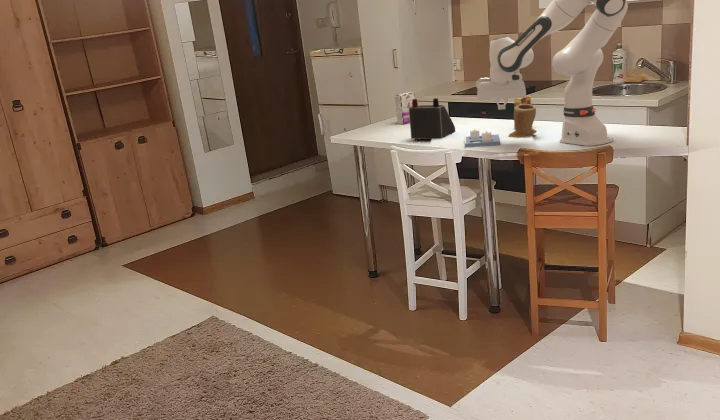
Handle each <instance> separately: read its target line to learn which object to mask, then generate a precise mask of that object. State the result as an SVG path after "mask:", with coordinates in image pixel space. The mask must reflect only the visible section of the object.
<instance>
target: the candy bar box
mask: <svg viewBox="0 0 720 420" xmlns="http://www.w3.org/2000/svg"><path fill="white" fill-rule="evenodd" d="M412 99H416V97H415V92H412V91H409V92H408V91H407V92H403V93H399V94H395V95H394V101H395V110H396V111H395V112H396V120H397V121H396V122H397V124H398V125H403V126H405V125H407V124H410V117H409V108H410V107H412Z"/></svg>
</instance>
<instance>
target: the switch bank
mask: <svg viewBox="0 0 720 420" xmlns="http://www.w3.org/2000/svg"><path fill="white" fill-rule="evenodd" d="M479 136H480V138H477V139H470V135H469V136H466V135H465V136H464V148H476V147H491V146H501V139H500V135H499V134H491V136H492V141H486V142H482V135H479Z"/></svg>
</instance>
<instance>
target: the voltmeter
mask: <svg viewBox="0 0 720 420" xmlns="http://www.w3.org/2000/svg"><path fill="white" fill-rule="evenodd" d="M432 101H433V102H432V105H430V104H427V105H419V103H418V99H417V98H415V99H412V107H410V108H409V117H410V123H409V126H410V127H409V129H410V139H412V140H413V139H414V141H415V142H419V141H420V139H423V140H424V139H425V140H426V139H427V140H429V139H430V140H432V139H434V140H436V139H438V140H439V139H441V140H442V139H444V138H447V137H448V136H450V135H451V136H452V135H453V134H455V133H456V126H455V124H454V122H453V120H452V118H451V116H450V114H449V112H448V109H447V108H446V106H445V105H444V104H443V105H442V104H440V103H439V98H438V97H437V98H433V99H432Z"/></svg>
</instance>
